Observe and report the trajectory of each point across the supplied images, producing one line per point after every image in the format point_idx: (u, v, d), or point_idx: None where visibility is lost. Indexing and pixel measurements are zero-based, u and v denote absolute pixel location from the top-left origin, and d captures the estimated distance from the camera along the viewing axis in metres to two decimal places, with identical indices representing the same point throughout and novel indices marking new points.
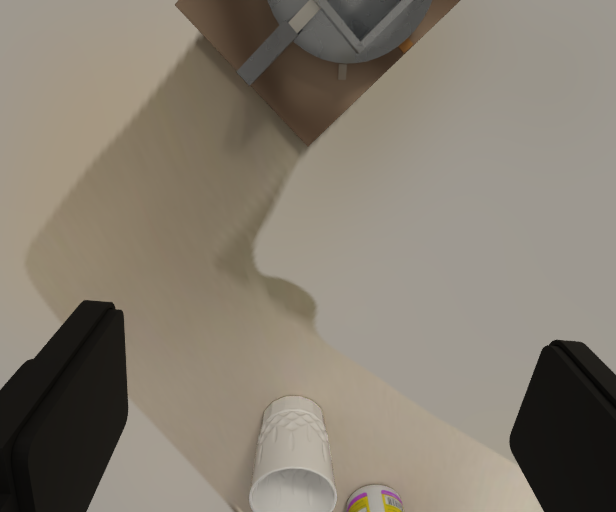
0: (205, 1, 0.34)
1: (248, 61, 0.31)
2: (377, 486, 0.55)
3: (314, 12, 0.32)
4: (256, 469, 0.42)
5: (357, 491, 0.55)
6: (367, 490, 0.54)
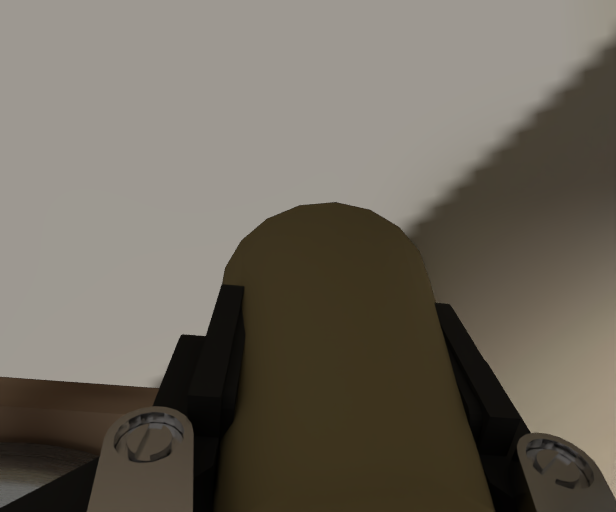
0: None
1: None
2: None
3: None
4: None
5: None
6: None
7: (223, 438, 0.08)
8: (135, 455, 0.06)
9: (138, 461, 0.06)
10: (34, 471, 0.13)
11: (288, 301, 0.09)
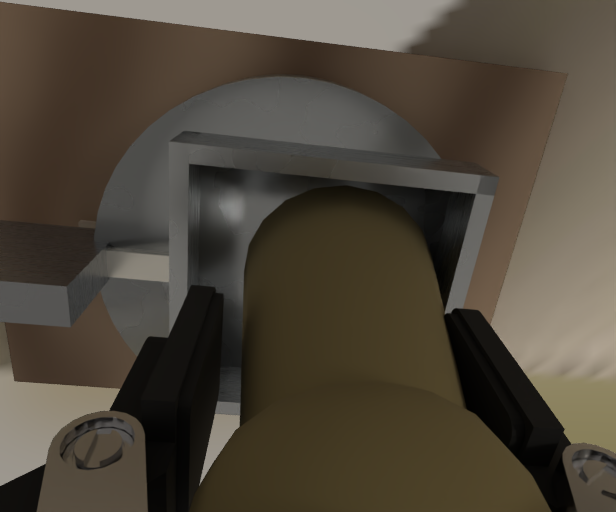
0: (20, 53, 0.14)
1: None
2: None
3: (166, 278, 0.15)
4: None
5: None
6: None
7: (248, 369, 0.09)
8: (84, 463, 0.06)
9: (87, 468, 0.06)
10: (324, 80, 0.14)
11: (302, 263, 0.11)
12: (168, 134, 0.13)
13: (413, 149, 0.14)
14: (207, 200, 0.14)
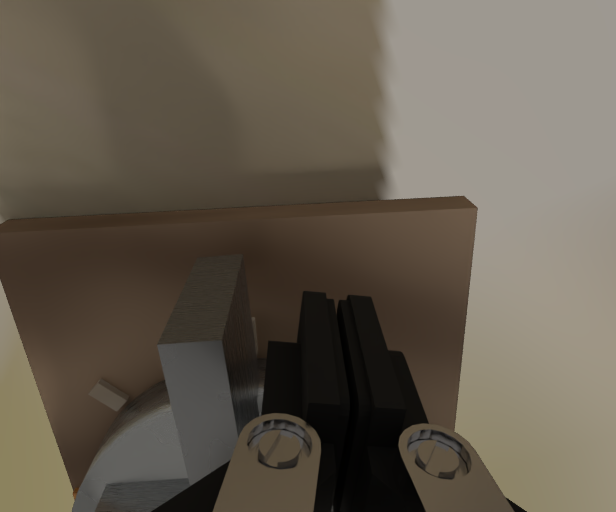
0: (426, 266, 0.14)
1: (223, 384, 0.09)
2: None
3: None
4: None
5: None
6: None
7: None
8: (265, 458, 0.07)
9: (266, 465, 0.07)
10: None
11: None
12: None
13: None
14: None
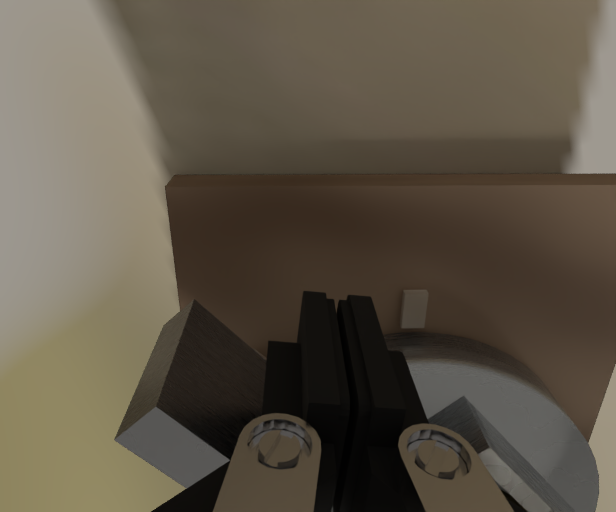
0: (611, 244, 0.14)
1: (192, 438, 0.09)
2: None
3: None
4: None
5: None
6: None
7: None
8: (265, 458, 0.07)
9: (266, 465, 0.07)
10: None
11: None
12: (449, 389, 0.13)
13: (582, 509, 0.15)
14: None
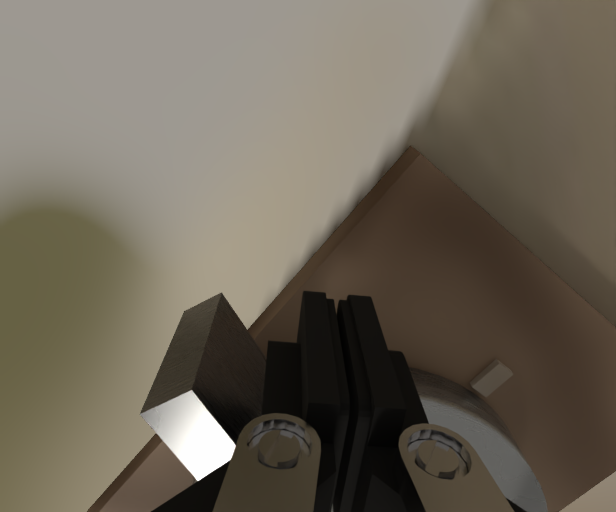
0: None
1: (215, 428, 0.09)
2: None
3: None
4: None
5: None
6: None
7: None
8: (264, 458, 0.07)
9: (266, 465, 0.07)
10: None
11: None
12: None
13: None
14: None
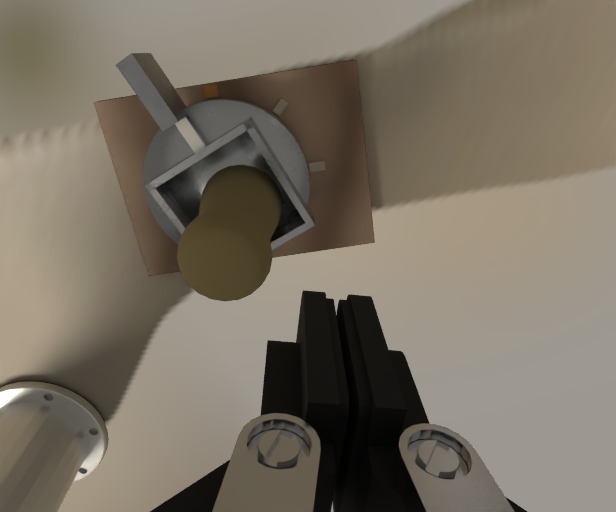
0: (351, 230, 0.38)
1: (141, 70, 0.28)
2: None
3: (192, 146, 0.32)
4: None
5: None
6: None
7: (221, 200, 0.28)
8: (264, 458, 0.07)
9: (266, 464, 0.07)
10: (301, 149, 0.34)
11: (252, 191, 0.30)
12: (245, 111, 0.32)
13: (303, 194, 0.34)
14: (233, 140, 0.33)
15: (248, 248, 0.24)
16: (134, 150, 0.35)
